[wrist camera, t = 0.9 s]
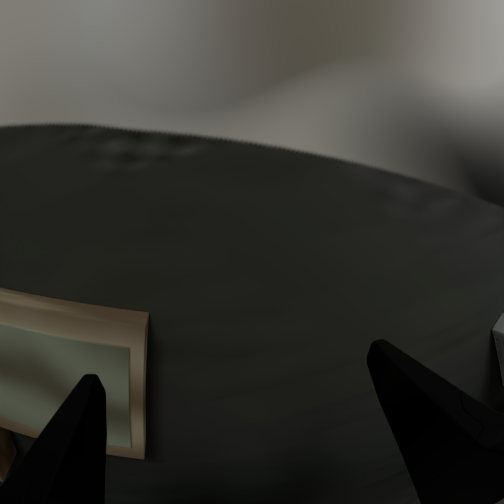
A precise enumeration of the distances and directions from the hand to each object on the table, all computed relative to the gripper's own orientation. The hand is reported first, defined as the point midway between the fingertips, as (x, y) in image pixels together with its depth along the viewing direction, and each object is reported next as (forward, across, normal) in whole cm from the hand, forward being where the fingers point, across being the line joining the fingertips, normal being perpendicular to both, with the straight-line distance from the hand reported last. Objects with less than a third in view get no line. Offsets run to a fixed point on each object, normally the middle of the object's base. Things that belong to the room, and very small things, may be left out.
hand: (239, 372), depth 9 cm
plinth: (+10, +13, +11) cm, 20 cm away
